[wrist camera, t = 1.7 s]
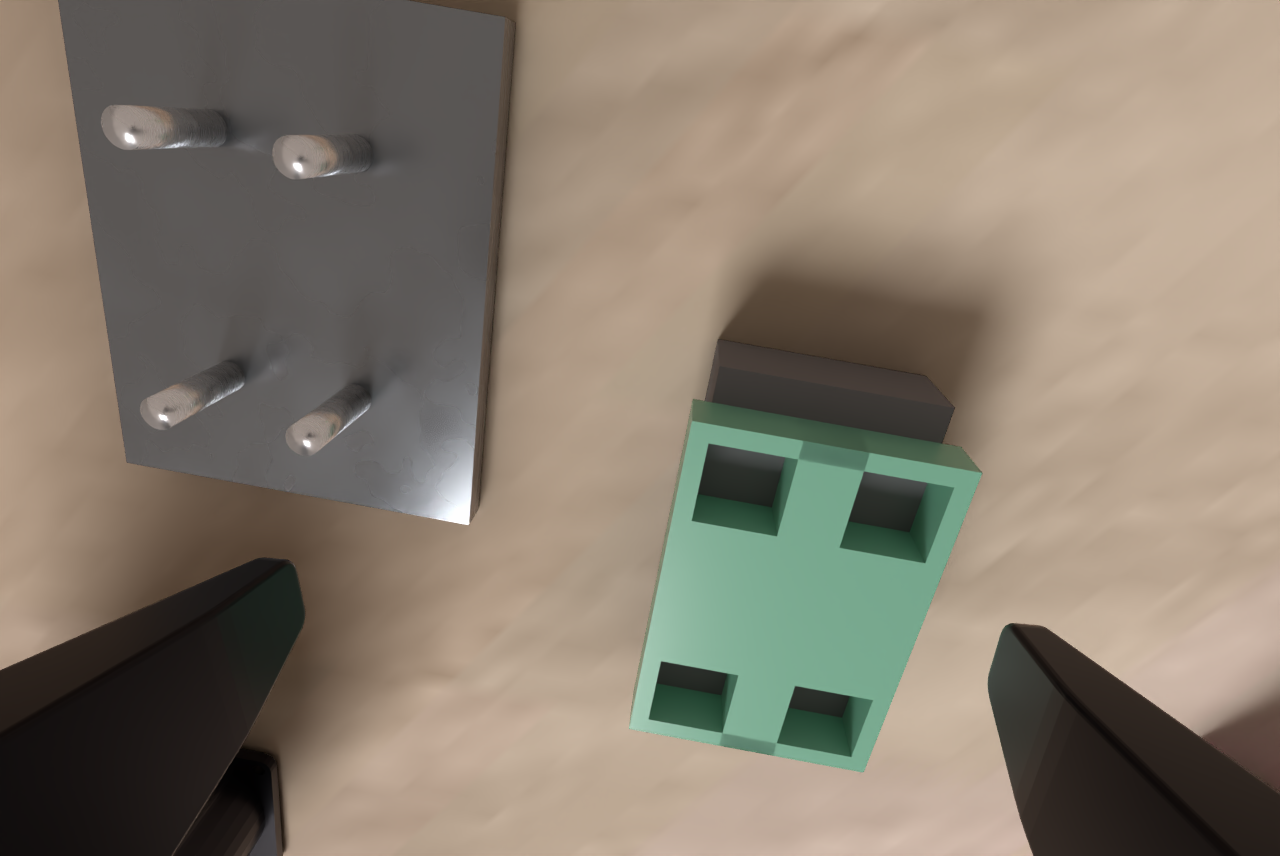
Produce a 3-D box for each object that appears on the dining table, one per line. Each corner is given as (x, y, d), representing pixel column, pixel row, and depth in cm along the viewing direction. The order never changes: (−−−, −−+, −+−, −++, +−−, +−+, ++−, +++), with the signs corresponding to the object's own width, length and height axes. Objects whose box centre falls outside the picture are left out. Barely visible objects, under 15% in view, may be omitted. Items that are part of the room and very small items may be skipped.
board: (853, 732, 22) (863, 772, 21) (633, 691, 22) (629, 728, 21) (961, 447, 18) (982, 473, 17) (692, 398, 18) (691, 421, 17)
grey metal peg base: (478, 509, 23) (435, 581, 19) (149, 449, 23) (45, 509, 19) (515, 22, 17) (465, -6, 14) (83, -52, 18) (-81, -99, 14)
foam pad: (817, 695, 25) (829, 752, 22) (649, 663, 25) (644, 718, 23) (926, 376, 20) (954, 407, 18) (718, 338, 20) (719, 365, 18)
